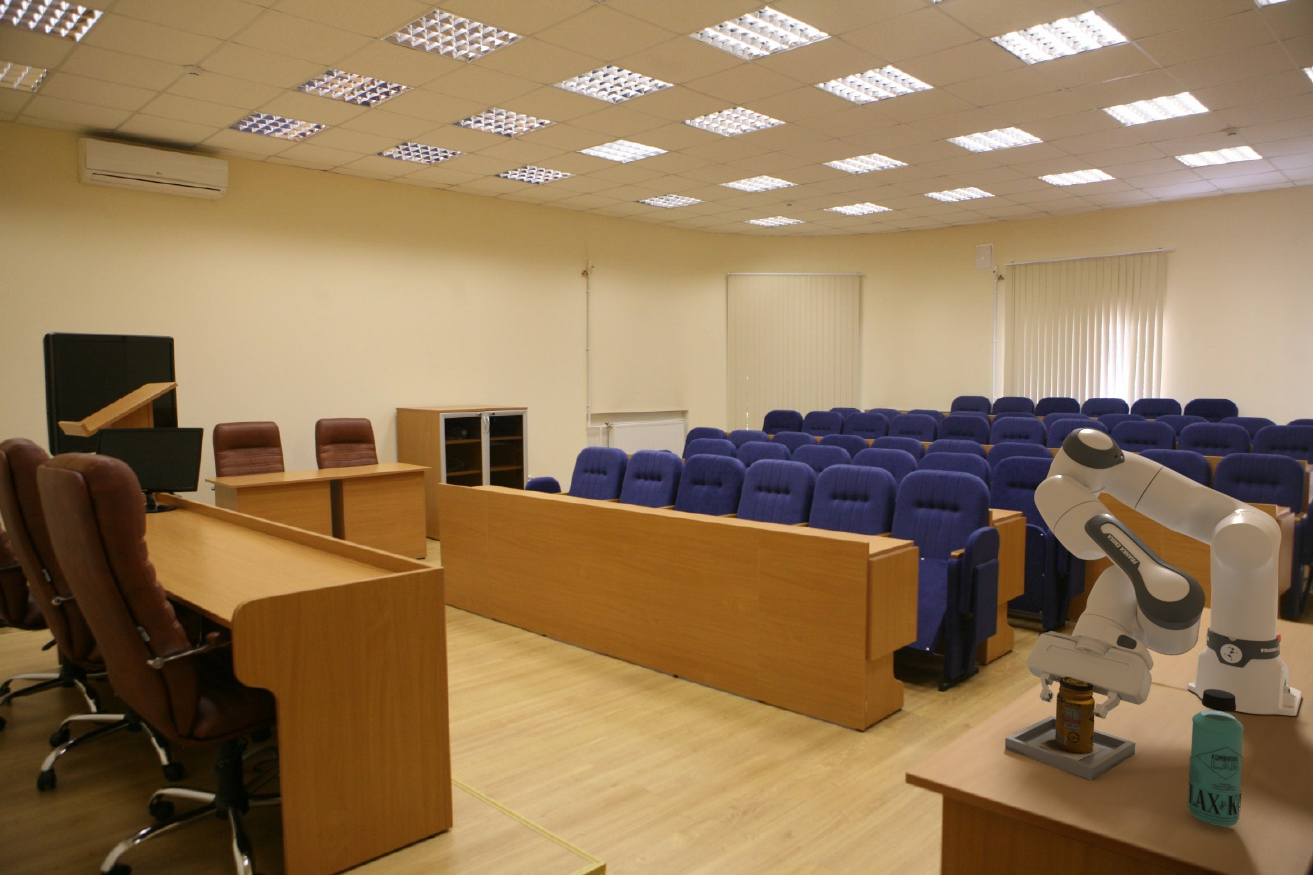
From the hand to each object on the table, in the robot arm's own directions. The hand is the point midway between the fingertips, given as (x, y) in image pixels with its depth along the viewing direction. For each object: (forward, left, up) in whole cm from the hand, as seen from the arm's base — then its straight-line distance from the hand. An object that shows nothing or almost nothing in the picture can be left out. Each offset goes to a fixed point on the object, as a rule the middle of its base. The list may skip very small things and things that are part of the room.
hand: (1071, 707), depth 146 cm
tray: (0, 0, -8) cm, 8 cm away
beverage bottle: (+8, +25, -8) cm, 27 cm away
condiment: (0, 0, -8) cm, 8 cm away
